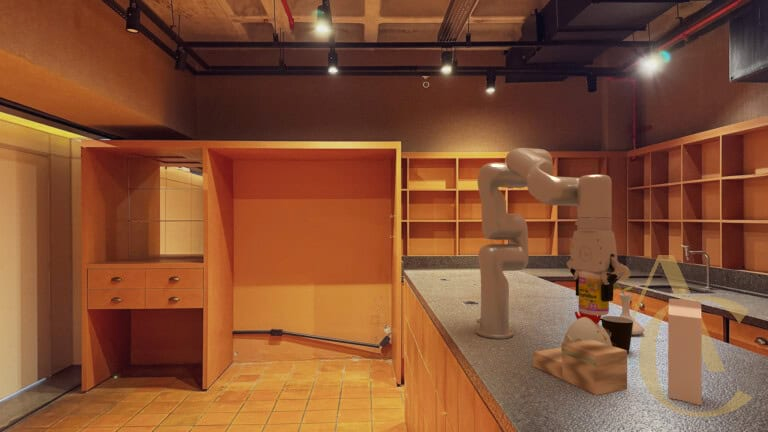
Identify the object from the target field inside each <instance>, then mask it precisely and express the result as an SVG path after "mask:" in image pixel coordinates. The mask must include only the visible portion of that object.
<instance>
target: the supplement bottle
mask: <svg viewBox="0 0 768 432" xmlns="http://www.w3.org/2000/svg"><path fill="white" fill-rule="evenodd" d="M607 277H608V275H607ZM602 284H604V283H603V280H602V277H601V275H600V273H594V272H588V271H580V272H579V296H578V312H579V311H580V312H582V313H585V314H589V315H597V316H598V315H602V316H608V314H609V313H610V301H606V302H604V301H602V300H601V285H602Z"/></svg>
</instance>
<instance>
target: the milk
mask: <svg viewBox="0 0 768 432" xmlns="http://www.w3.org/2000/svg"><path fill="white" fill-rule="evenodd" d="M667 316H668V317H667V318H668V320H667V322H668V323H667V326H668V327H667V329H668V330H667V334H668V336H667V340H668V343H667V347H668V348H667V351H668V352H667V354H668V355H667V361H668V362H667V364H668V365H667V367H668V369H667V386H668V387H667V393H668V394H667V397H669V398H668V399H670V398H674V399H673V400H675V399H678V400H677V401H680V400H683V401H682V402H684V401H686V402H685V403H690V404H694V405H698V406H702V404H703V402H702V401H703V400H702V399H703V398H702V397H703V396H702V393H703V392H702V388H703V387H702V382H703V381H702V377H703V376H702V375H703V374H702V370H703V368H702V364H703V363H702V362H703V361H702V360H703V358H702V354H703V351H702V350H703V349H702V343H703V342H702V339H703V338H702V336H703V334H702V331H703V330H702V327H703V325H702V323H703V321H702V302H701V301H698V300H690V299H689V300H688V299H679V298H669V299H668V314H667Z"/></svg>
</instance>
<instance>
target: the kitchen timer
mask: <svg viewBox="0 0 768 432" xmlns="http://www.w3.org/2000/svg"><path fill="white" fill-rule="evenodd" d="M578 312H579V313H578ZM574 315H575V318H576V320H575V321H573V322H572V324H570V326H569V327H568V329H567V331H566V332H565V334H564V337H563V340H562V343H567V342H575V341H582V340H590V339H592V340H595V341H598V342H602V343H605V344H608V345H611V346H612V343H611V340H610V337H609V335H608V334H607V332H606V330H605V329H604V328H603V327H602V323H600V321H601V320H600V318H601V317H602V316H603V315H589V314H585V313H582V312H580V311H579V310H578V311H574ZM599 320H600V321H599ZM598 322H599V323H598Z"/></svg>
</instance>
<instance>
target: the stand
mask: <svg viewBox="0 0 768 432" xmlns="http://www.w3.org/2000/svg"><path fill="white" fill-rule="evenodd" d="M532 355H533V357H532V358H533V363H532V364H533V365H532V366H533V367H535V368H536V369H539V370H540V371H541V370H542V371H543V372H546V373H547V374H549V375H552V376H554V377H556V378H558V379H561V380H562V381H565V382H567V383H569V384H572V385H573V386H575V387H578V388H580V389H583V390H585V391H587V392H590V393H591V394H593V395H595V396H598V395H603V394H608V393H609V394H610V393H613V392H619V391H622V389H623V390H627V389H628V355H627V350H624V349H620V348H617V347H614V346H611V345H608V344H605V343H602V342H598V341H595V340H592V339H590V340H582V341H575V342H567V343H563V342H562V343H561V347H556V348H548V349H541V350H540V349H539V350H534V351H533V354H532Z"/></svg>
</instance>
